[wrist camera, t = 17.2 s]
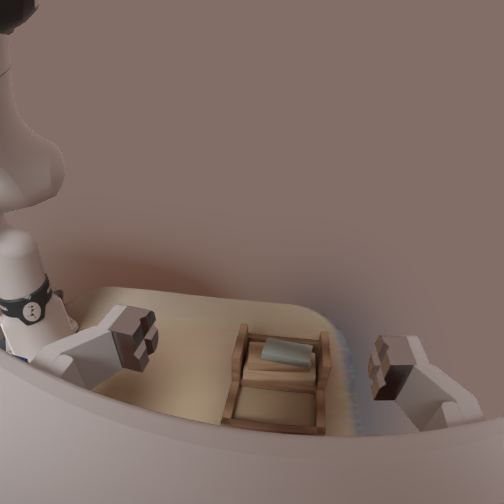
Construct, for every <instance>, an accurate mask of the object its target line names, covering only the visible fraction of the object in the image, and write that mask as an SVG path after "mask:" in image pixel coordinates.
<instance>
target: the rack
mask: <svg viewBox="0 0 504 504" xmlns="http://www.w3.org/2000/svg"><path fill="white" fill-rule="evenodd" d="M330 370H331V360H330V348H329V338H328V332H322V331H321V334H320V338H319V340H311V339H299V338H288V337H278V336H268V335H259V334H251V333H248V324H241V326H240V330H239V333H238V337H237V340H236V344H235V348H234V351H233V355H232V382H231V386H230V390H229V394H228V398H227V401H226V405H225V409H224V413H223V416H222V420H221V426H226V427H232V428H239V429H246V430H253V431H261V432H266V431H274V432H278V433H281V434H294V435H311V436H324V435H325V408H324V388H325V385H326V382H327V379H328V376H329V373H330ZM239 386H246V387H253V388H262V389H271V390H280V391H292V392H305V393H315V427H307V426H292V425H280V424H270V423H261V422H252V421H245V420H238V419H232V416H233V412H234V408H235V403H236V399H237V395H238V390H239Z"/></svg>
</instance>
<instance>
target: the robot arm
mask: <svg viewBox="0 0 504 504" xmlns="http://www.w3.org/2000/svg"><path fill="white" fill-rule="evenodd" d="M40 1H41V0H0V308H1V311H2V313H3V315H2V316H0V325H1V328H2V330H3V332H4V334H5V337H6V351H4V350H2V349H0V504H504V416H500V417H497V418H493V419H489V420H484V417H483V414H482V412H481V409H480V407H479V404H478V402H477V400H476V397H474V396H473V395H472V394H471V393H469V392H468V391H467V390H465V389H464V388H463V387H462V386H460V385H459V384H458V383H456V382H455V381H454V380H453V379H451V378H450V377H449V376H447V375H446V374H445V373H444V372H442V371H441V370H440V369H438V368H437V367H436V366H434V365H430V363H429V361H428V359H427V356H426V354H425V352H424V349H423V347H422V345H421V342H420V341H419V338H418V337H417V336H416V335H414V336H382V335H380V336H379V337H378V338H377V340H376V342H375V346H376V350H375V351H374V352H373V353H371V356H370V359H369V365H368V373H369V378H370V379H371V380H372V381H373V383H372V386H371V389H372V394H373V400H395V402H396V404H397V405H398V406H399V407H400V408H401V410H402V411H403V412H404V413H405V414H406V415H407V417H408V418H409V419H410V420H411V421H412V423H413V424H414V425H415V426H416V427H417V428H418V430H419V431H420V432H413V433H403V434H392V435H375V436H311V435H294V434H281V433H271V432H261V431H253V430H246V429H239V428H232V427H226V426H220V425H214V424H209V423H204V422H199V421H194V420H189V419H185V418H180V417H176V416H172V415H168V414H164V413H160V412H156V411H152V410H149V409H145V408H142V407H138V406H135V405H132V404H128V403H125V402H122V401H119V400H116V399H113V398H110V397H107V396H104V395H101V394H99V393H96V392H93V391H90V390H91V389H92V388H94V387H95V386H97V385H98V384H100V383H102V382H103V381H105V380H106V379H108V378H109V377H111V376H112V375H114V374H116V373H117V372H119V371H120V370H122V369H123V368H126V369H130V370H134V371H138V372H143V371H144V369H145V367H146V365H147V364H148V362H149V358H148V355H150V354H152V353H154V351H155V349H156V347H157V344H158V329H157V328H156V327H155V326H154V325H153V324H154V322H155V321H156V318H155V313H154V312H153V311H151V310H146V309H142V308H137V307H132V306H127V305H122V304H116V305H115V306H114V307H113V308H112V310H111V311H110V312H109V313H108V314H107V315H106V316H105V318H104V319H103V320H102V321H101V322H100V323H99V325H98V326H97V327H94V326H93V327H90V328H88V329H85V330H83V331H80V332H78V333H75V332H76V331H77V330H78V328H79V325H78V323H77V322H76V321H75V320H73V319H72V318H71V317H69V316H68V315H67V313H66V310H65V308H64V305H63V302H62V300H61V298H59V297H58V296H57V295H55V294H53V293H52V289H51V285H50V281H49V280H48V277H47V275H46V274H45V273H44V270H43V265H42V261H41V257H40V253H39V249H38V244H37V242H36V240H35V238H34V237H33V236H32V235H31V234H30V233H29V232H27V231H26V230H24V229H21V228H18V227H15V226H13V225H12V224H10V223H9V222H8V221H7V220H6V218H5V217H4V214H3V213H5V212H9V211H13V210H18V209H22V208H26V207H31V206H34V205H37V204H39V203H41V202H43V201H46V200H48V199H50V198H52V197H54V196H56V195H57V193H58V192H59V190H60V188H61V186H62V184H63V181H64V177H65V162H64V158H63V155H62V153H61V151H60V149H59V148H58V146H57V145H56V144H55V143H53V142H52V141H50V140H47V139H45V138H42V137H41V136H39V135H37V134H36V133H35V132H33V131H32V130H31V129H30V128H29V127H28V126H27V125H26V124H25V123H24V121H23V120H22V118H21V117H20V115H19V113H18V111H17V108H16V105H15V99H14V94H13V88H12V79H11V64H10V48H9V37H8V35H9V34H11V33H13V31H14V29H15V28H16V27H18V26H20V25H21V24H23V23H25V22H26V21H27V20H28V19H29V18H30V17H31V16H32V15H33V14H34V12H35V11H36V10H37V8H38V6H39V3H40ZM11 354H13V355H16V356H20V357H23V358H27V359H28V362H29V364H28V363H26V362H25V361H23V360H21V359H19V358H17V357H15V356H13V355H11Z"/></svg>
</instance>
